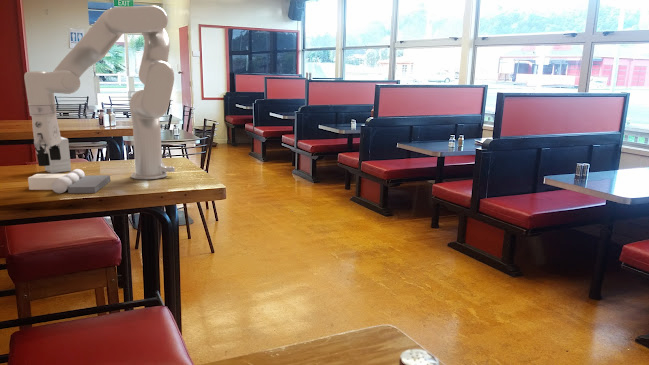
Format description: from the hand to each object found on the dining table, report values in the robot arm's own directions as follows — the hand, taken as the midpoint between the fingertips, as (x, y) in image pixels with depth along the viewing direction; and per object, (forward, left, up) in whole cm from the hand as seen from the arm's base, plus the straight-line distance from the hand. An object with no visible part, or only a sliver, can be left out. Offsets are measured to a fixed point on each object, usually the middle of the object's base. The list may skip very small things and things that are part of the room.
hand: (50, 162), depth 162 cm
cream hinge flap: (-1, 0, -8) cm, 8 cm away
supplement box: (+8, -28, -8) cm, 30 cm away
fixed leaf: (-10, 0, -8) cm, 13 cm away
